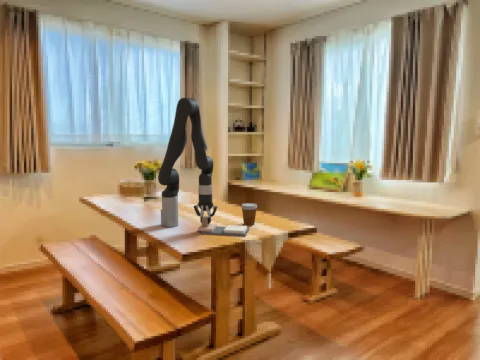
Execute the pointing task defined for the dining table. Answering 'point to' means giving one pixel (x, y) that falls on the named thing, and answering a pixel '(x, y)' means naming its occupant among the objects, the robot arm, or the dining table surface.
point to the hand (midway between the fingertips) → (205, 223)
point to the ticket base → (219, 232)
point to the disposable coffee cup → (249, 213)
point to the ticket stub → (206, 225)
